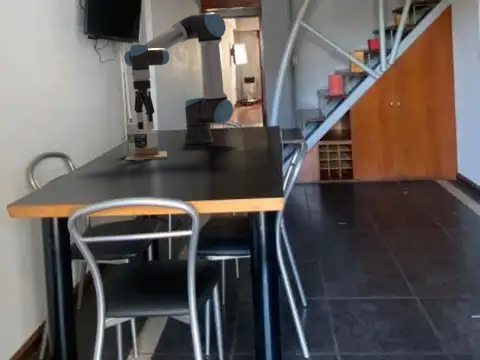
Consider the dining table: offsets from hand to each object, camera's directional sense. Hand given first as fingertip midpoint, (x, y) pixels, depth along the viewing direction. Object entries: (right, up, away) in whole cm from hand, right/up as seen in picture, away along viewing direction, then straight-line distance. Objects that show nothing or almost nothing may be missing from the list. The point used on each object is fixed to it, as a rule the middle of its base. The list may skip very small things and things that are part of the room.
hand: (145, 128), depth 275 cm
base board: (0, -13, +2) cm, 13 cm away
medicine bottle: (0, -9, +1) cm, 9 cm away
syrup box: (-6, -11, +15) cm, 20 cm away
